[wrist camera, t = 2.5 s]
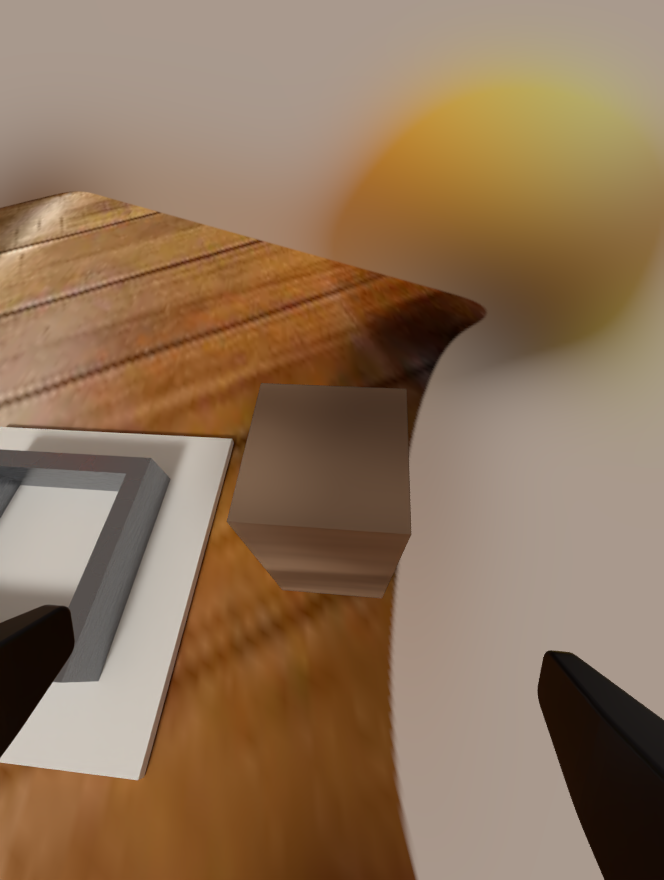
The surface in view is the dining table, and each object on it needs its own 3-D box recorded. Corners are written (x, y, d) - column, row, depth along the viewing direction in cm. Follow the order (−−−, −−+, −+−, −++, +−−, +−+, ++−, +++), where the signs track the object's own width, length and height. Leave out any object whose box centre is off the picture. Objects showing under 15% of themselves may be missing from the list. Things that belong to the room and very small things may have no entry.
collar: (98, 681, 16) (60, 682, 14) (-105, 659, 17) (-170, 657, 15) (170, 478, 21) (151, 457, 19) (13, 469, 22) (-22, 448, 20)
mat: (144, 777, 15) (138, 780, 14) (-204, 732, 16) (-219, 734, 16) (234, 442, 23) (231, 438, 23) (2, 430, 25) (-4, 426, 24)
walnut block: (381, 598, 18) (411, 534, 10) (282, 589, 18) (227, 521, 10) (382, 503, 21) (406, 389, 12) (296, 498, 21) (261, 383, 13)
